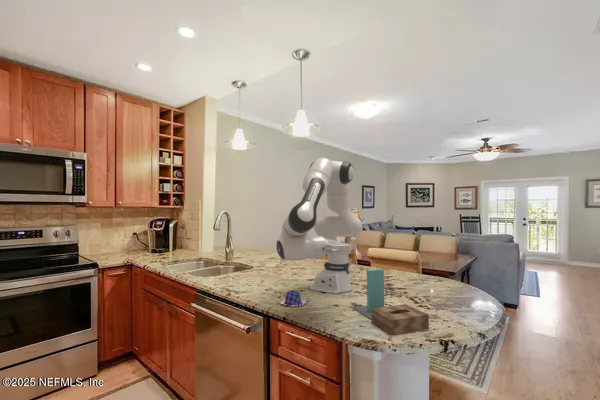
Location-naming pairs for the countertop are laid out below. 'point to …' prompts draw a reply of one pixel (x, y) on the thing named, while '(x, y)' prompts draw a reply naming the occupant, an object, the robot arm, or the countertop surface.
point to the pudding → (293, 298)
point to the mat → (364, 311)
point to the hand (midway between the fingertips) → (349, 245)
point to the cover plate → (375, 289)
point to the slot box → (400, 319)
